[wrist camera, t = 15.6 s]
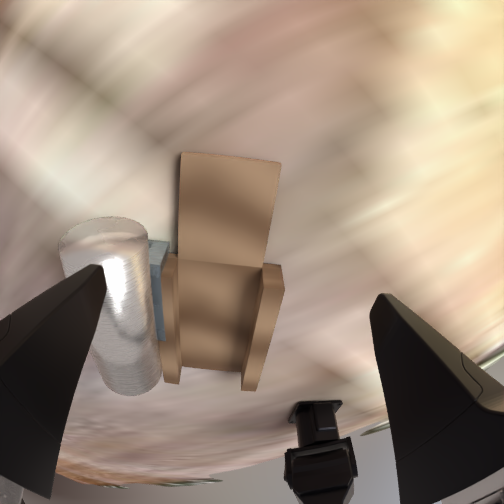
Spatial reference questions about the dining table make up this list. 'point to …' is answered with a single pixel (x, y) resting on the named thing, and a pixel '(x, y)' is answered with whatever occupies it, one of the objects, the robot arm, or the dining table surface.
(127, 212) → the dining table surface
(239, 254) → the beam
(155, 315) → the v block
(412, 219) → the dining table surface
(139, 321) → the silver metal tumbler
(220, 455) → the dining table surface
